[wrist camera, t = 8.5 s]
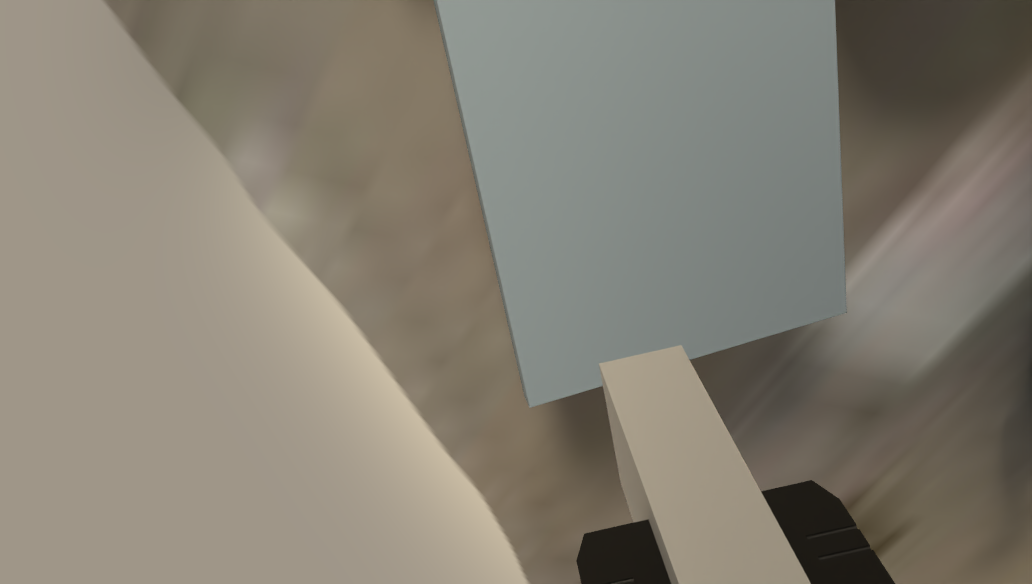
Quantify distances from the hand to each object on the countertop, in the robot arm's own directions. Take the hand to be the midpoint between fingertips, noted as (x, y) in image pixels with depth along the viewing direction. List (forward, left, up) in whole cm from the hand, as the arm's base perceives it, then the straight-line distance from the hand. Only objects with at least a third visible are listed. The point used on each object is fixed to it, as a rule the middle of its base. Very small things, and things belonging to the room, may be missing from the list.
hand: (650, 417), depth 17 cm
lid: (0, +4, -15) cm, 16 cm away
